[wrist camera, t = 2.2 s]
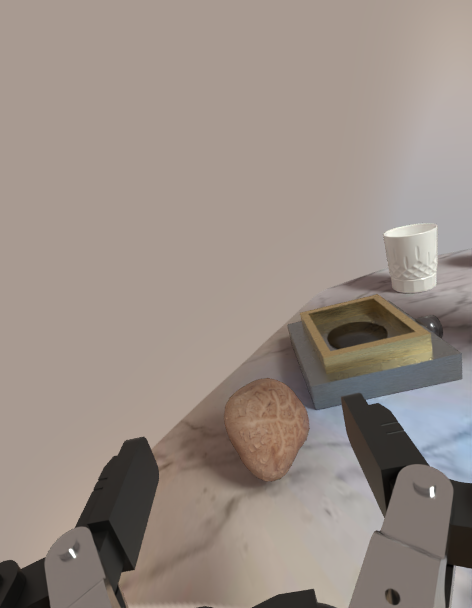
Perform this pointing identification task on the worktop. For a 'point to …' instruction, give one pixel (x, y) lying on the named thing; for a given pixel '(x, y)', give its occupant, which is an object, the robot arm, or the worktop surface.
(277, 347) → the worktop surface
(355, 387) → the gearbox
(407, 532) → the robot arm
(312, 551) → the worktop surface
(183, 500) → the worktop surface
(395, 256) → the white cup
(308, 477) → the worktop surface
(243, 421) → the mushroom
